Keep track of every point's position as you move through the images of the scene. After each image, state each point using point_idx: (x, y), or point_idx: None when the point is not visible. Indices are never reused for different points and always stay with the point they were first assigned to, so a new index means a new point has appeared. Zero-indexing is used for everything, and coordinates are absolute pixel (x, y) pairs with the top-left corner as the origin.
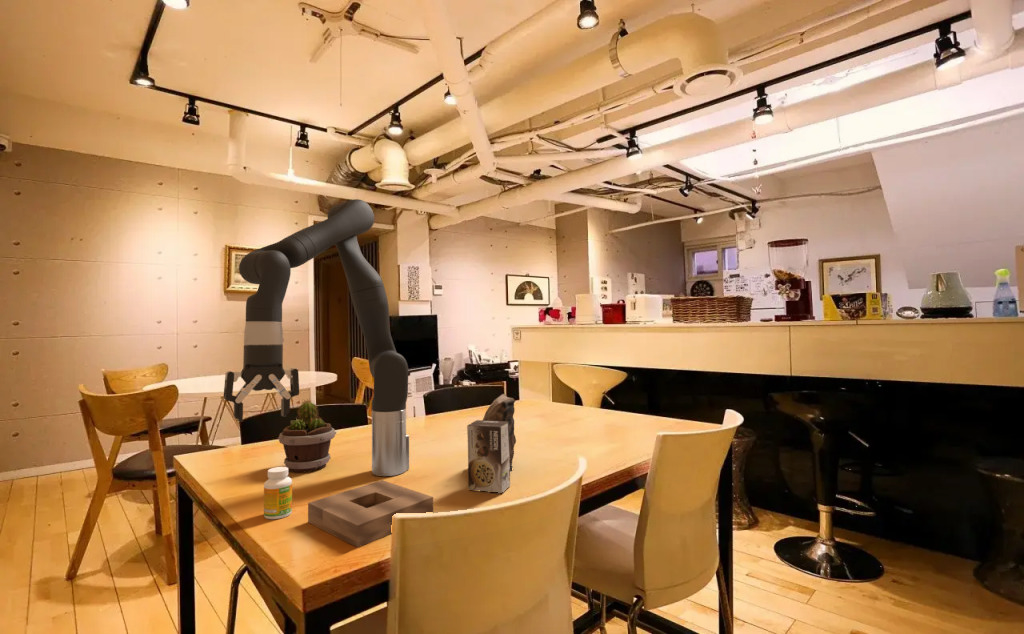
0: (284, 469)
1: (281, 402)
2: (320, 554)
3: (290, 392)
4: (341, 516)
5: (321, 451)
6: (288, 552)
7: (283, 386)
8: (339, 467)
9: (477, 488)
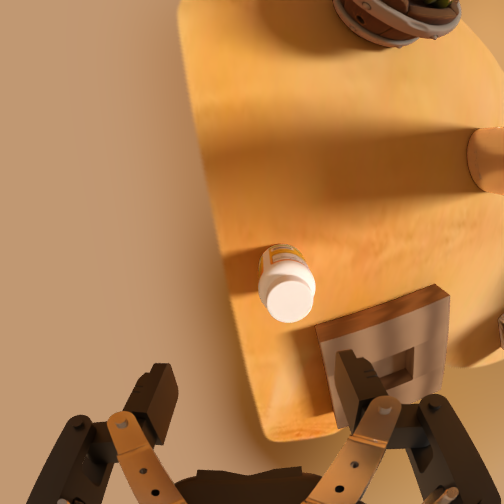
0: (302, 311)
1: (353, 393)
2: (297, 409)
3: (396, 447)
4: (336, 405)
5: (416, 37)
6: (269, 392)
7: (360, 499)
8: (427, 59)
9: (500, 330)
